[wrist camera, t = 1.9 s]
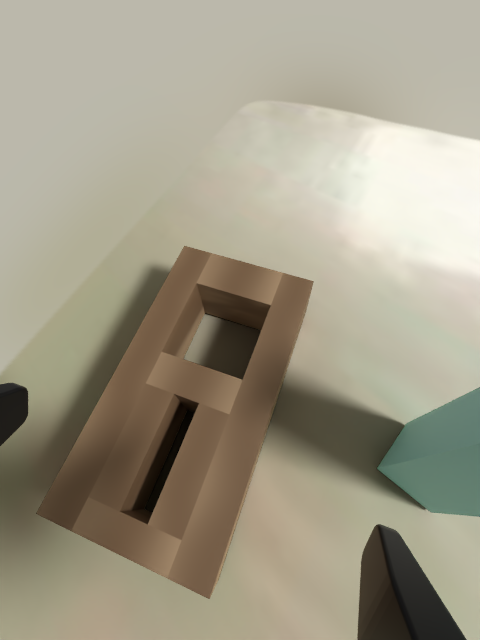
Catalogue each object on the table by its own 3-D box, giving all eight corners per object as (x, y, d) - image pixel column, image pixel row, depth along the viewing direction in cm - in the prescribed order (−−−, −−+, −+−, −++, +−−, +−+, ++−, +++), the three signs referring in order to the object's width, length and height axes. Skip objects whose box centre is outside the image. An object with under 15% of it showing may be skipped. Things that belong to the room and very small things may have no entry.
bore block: (75, 510, 20) (35, 513, 16) (194, 278, 27) (184, 245, 23) (218, 579, 18) (209, 598, 15) (305, 311, 25) (313, 281, 22)
